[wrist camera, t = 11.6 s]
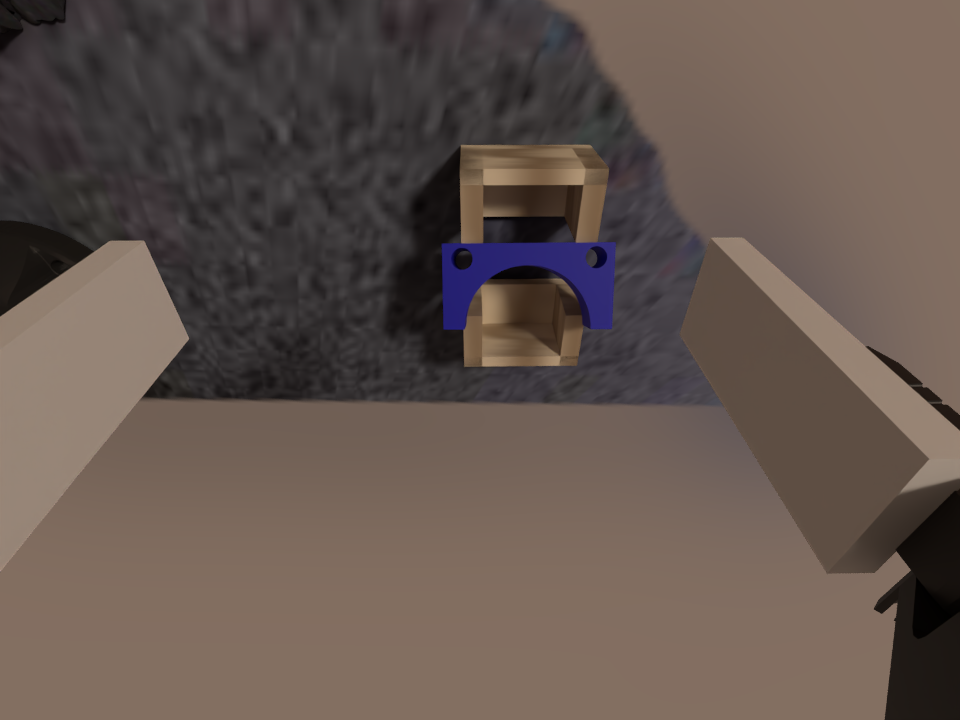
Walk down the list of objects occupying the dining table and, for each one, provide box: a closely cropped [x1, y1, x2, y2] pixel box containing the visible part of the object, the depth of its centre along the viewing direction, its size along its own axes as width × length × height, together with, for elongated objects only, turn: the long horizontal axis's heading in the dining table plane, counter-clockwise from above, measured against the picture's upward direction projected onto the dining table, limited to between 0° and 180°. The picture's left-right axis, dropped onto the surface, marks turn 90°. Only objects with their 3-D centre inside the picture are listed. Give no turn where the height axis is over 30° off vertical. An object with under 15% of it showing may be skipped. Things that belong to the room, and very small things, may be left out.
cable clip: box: [442, 242, 616, 330], centre depth 35 cm, size 12×4×6 cm
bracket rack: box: [460, 145, 609, 367], centre depth 37 cm, size 10×16×6 cm, turn 0°
